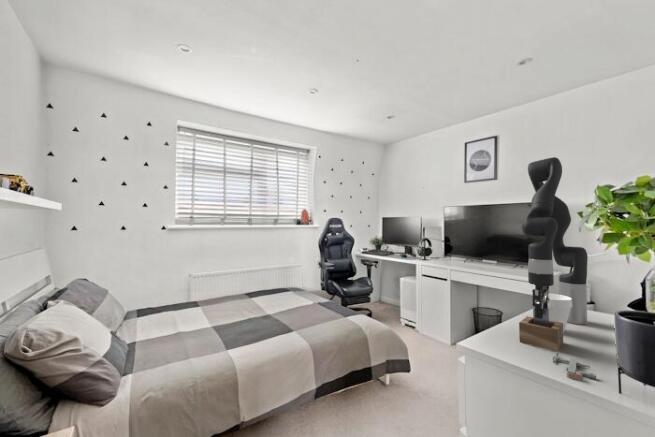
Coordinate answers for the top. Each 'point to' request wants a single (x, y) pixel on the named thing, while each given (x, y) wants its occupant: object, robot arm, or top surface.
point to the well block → (541, 334)
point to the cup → (559, 308)
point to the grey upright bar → (544, 320)
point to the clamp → (574, 368)
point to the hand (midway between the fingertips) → (541, 315)
